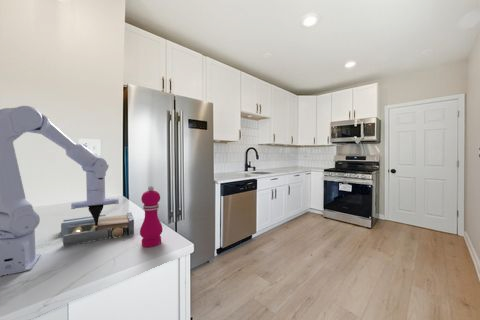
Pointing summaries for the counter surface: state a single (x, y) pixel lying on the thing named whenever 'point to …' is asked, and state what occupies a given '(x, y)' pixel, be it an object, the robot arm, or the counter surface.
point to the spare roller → (117, 232)
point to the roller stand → (76, 223)
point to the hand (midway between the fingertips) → (96, 224)
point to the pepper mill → (151, 219)
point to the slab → (112, 222)
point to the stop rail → (130, 223)
